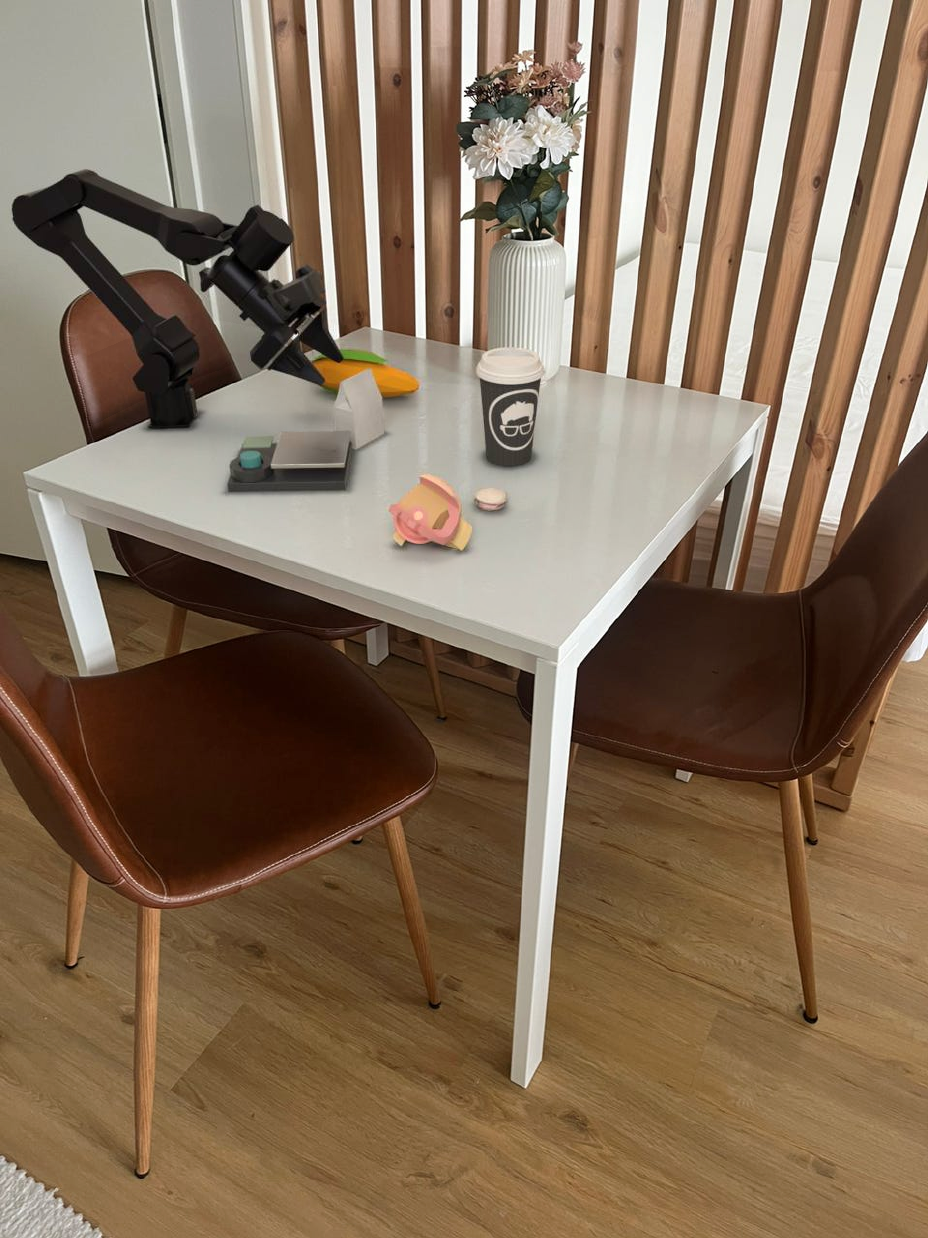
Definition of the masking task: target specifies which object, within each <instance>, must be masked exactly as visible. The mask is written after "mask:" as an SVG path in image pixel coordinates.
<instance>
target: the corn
mask: <svg viewBox="0 0 928 1238" xmlns="http://www.w3.org/2000/svg"><path fill="white" fill-rule="evenodd" d="M339 350H340V352H341V354H342V355H343V357H344V359H343V360H342V361H341V362H340V363H337V362H335V361H333V360H331V359H330V358H328V357H326V356H324V355H323V354H321V353H320V354H319V355H318V356H315V358H314V359H313V360H312V361H311V363H312V364H313V365H314V366H315V367H316V368H317V370H318V371H319V372H320V373H321V375H322V376H323V377H324V379H325V382H324V383H323V384H322V385H321V386H320V385H318V386H319V387H320V388H322V389H323V390H325V391H327V392H329V393H332V394H336V395H338V392H339V388H340V382H342V381H344V380H346V379H348V378H350V377H352V376H354V375H356V374H359V373H361V372H363V371H365V370H367V369H372V373H373V376H374V379H375V382H376V384H377V387H378V389H379V391H380V394H381V396H382V398H393V397H400V396H406V395H411V394H414V393H415V392H417V391H418V390H419V387H420V382H419V381H418V379H416V378H415V377H414V376H412V375H411V374H410V373H408V372H405V371H403V370H400V369H398V368H395V367H393V366H391V365H388V364H385V363H387V361H388V360H387V359H385V358H383V357H381V356H379V355H378V356H376V355H377V354H376V355H373V354H368V353H363V352H357V351H351V350H349V349H348V350H347V349H342V348H341V349H340V348H339Z"/></svg>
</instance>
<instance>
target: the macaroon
mask: <svg viewBox="0 0 928 1238" xmlns="http://www.w3.org/2000/svg"><path fill="white" fill-rule="evenodd" d="M507 496H508V495H507V492H506V490H504V489H501V488H494V487H486V488H481V489H478V490H477V491H476V492H475V493H474V504H475V505H476V506H477V507H478V508H480V509H481V510H483V511H488V512H493V511H497V510H500V509H502V508H503V507H504V505H505V504H506V502H507Z"/></svg>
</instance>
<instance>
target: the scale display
mask: <svg viewBox="0 0 928 1238" xmlns="http://www.w3.org/2000/svg"><path fill="white" fill-rule="evenodd" d="M274 439H275V436H274V435H261V436H260V435H259V436H257V435H256V436H255V435H254V436H253V435H252V436H250V435H249V436H245V438H244V440H243V443H242V444H243V446H242V445H241V447H242V448H271V445H272V443H274V442H273V441H274Z"/></svg>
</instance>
